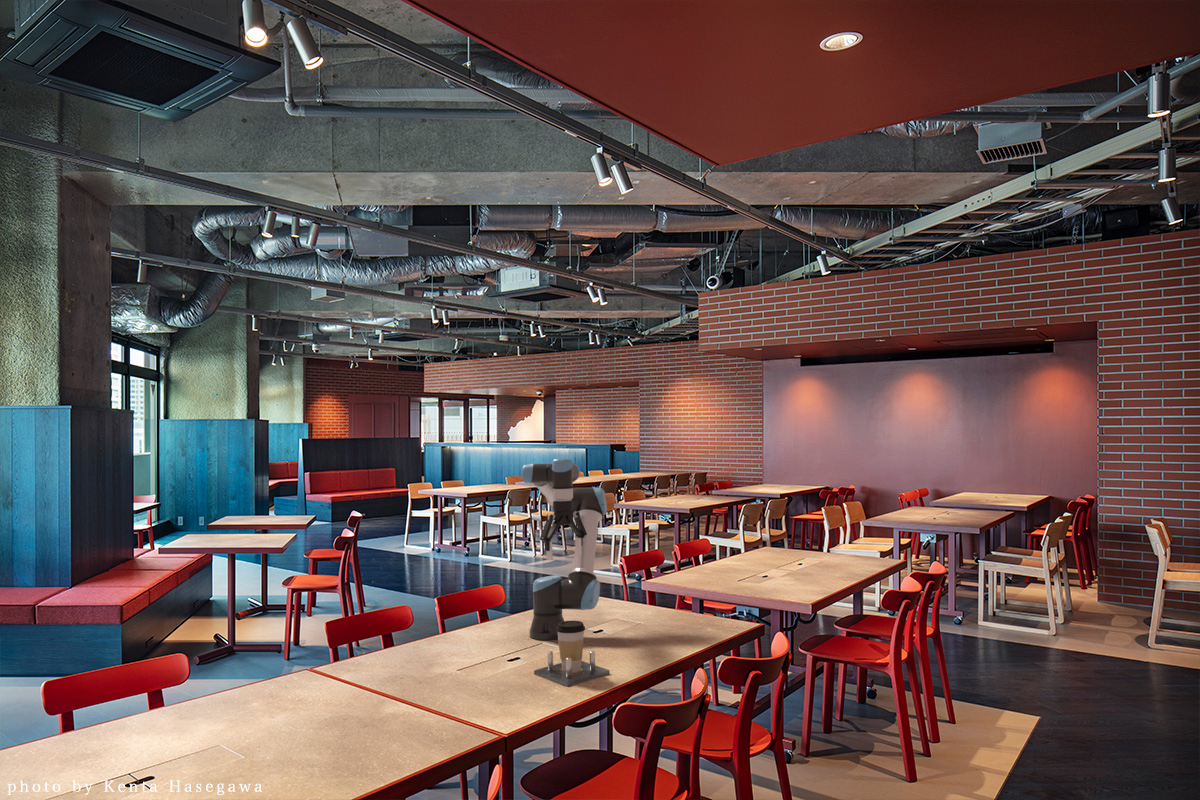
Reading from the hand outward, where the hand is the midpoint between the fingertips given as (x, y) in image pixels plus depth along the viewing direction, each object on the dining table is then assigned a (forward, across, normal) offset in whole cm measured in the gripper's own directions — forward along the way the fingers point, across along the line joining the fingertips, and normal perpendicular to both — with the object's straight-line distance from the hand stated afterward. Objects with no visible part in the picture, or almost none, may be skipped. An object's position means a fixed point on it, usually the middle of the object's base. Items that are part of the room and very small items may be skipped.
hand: (564, 557), depth 270 cm
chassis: (+35, +14, +21) cm, 43 cm away
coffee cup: (+33, +14, +21) cm, 42 cm away
